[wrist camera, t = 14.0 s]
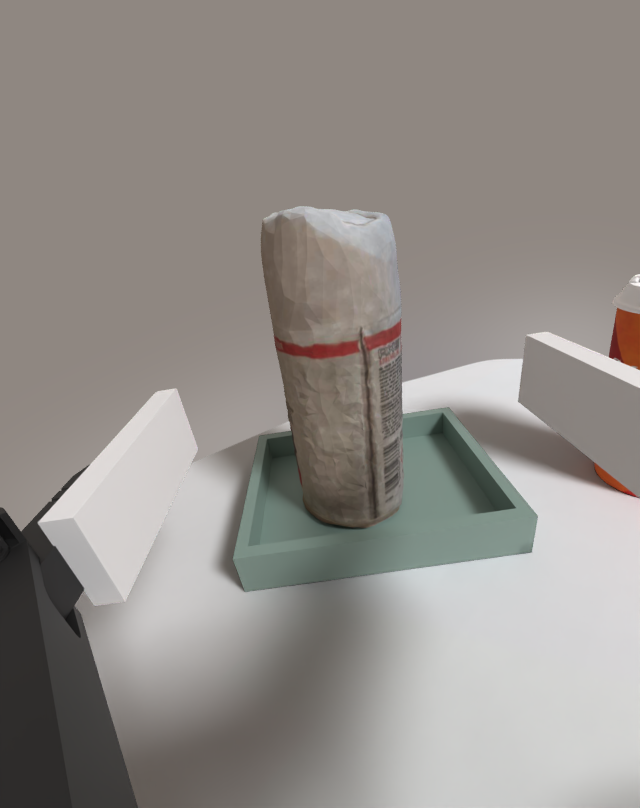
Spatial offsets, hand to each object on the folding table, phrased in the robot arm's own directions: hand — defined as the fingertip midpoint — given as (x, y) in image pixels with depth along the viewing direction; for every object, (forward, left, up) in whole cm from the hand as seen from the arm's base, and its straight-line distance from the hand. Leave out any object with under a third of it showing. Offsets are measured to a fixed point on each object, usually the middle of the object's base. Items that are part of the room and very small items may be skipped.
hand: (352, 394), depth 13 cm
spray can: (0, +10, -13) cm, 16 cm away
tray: (+1, +10, -14) cm, 17 cm away
